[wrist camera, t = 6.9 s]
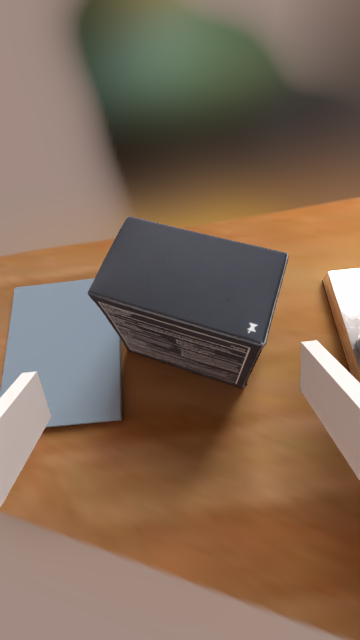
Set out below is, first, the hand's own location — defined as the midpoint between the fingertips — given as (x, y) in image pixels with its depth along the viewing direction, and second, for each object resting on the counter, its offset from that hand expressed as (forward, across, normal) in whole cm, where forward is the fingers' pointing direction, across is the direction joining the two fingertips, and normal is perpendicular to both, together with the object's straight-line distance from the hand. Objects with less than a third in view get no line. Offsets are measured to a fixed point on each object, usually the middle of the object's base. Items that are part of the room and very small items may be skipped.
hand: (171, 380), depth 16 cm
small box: (+12, +2, -3) cm, 12 cm away
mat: (+12, -10, -3) cm, 16 cm away
